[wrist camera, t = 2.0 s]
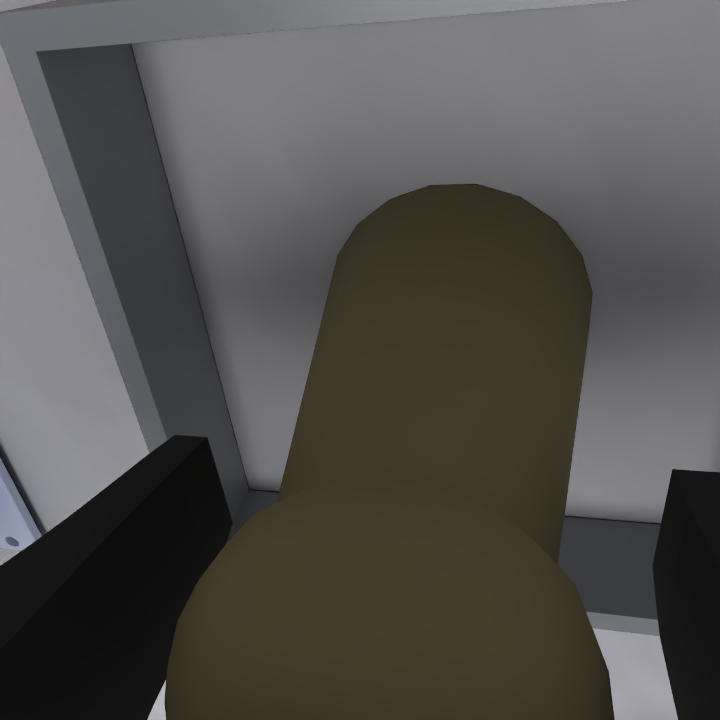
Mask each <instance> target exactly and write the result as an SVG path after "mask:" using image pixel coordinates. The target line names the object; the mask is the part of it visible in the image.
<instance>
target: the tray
mask: <svg viewBox="0 0 720 720" xmlns="http://www.w3.org/2000/svg"><path fill="white" fill-rule="evenodd" d="M622 1H634V0H56V1H51V2H46V3H41V4H37V5H32V6H27V7H22V8H18V9H13V10H8V11H3V12H0V42H1V45H2V47H3V50H4V53H5V56H6V58H7V61H8V64H9V67H10V69H11V72H12V75H13V78H14V80H15V83H16V86H17V89H18V92H19V94H20V97H21V100H22V103H23V105H24V108H25V111H26V114H27V116H28V119H29V122H30V125H31V127H32V130H33V133H34V136H35V138H36V141H37V144H38V147H39V149H40V152H41V155H42V158H43V160H44V163H45V166H46V169H47V171H48V174H49V177H50V180H51V182H52V185H53V188H54V191H55V193H56V196H57V199H58V202H59V204H60V207H61V210H62V213H63V215H64V218H65V221H66V224H67V226H68V229H69V232H70V235H71V237H72V240H73V243H74V246H75V248H76V251H77V254H78V257H79V260H80V262H81V265H82V268H83V271H84V273H85V276H86V279H87V282H88V284H89V287H90V290H91V293H92V295H93V298H94V301H95V304H96V306H97V309H98V312H99V315H100V317H101V320H102V323H103V326H104V328H105V331H106V334H107V337H108V339H109V342H110V345H111V348H112V350H113V353H114V356H115V359H116V361H117V364H118V367H119V370H120V372H121V375H122V378H123V381H124V383H125V386H126V389H127V392H128V394H129V397H130V400H131V403H132V405H133V408H134V411H135V414H136V416H137V419H138V422H139V425H140V428H141V430H142V433H143V436H144V439H145V441H146V444H147V447H148V450H149V452H150V453H151V452H152V451H154V450H155V449H156V448H157V447H159V446H160V445H161V444H163V443H164V442H166V441H167V440H168V439H170V438H171V437H173V436H174V435H184V436H199V437H208V440H209V444H210V447H211V450H212V454H213V457H214V461H215V464H216V467H217V471H218V474H219V477H220V481H221V484H222V488H223V491H224V494H225V498H226V501H227V504H228V508H229V511H230V515H231V518H232V521H233V524H232V527H231V530H230V533H229V537H228V540H227V543H228V542H229V541H230V540H231V539H232V537H233V536H234V535H235V534H236V533H237V532H238V531H239V530H240V528H241V527H242V526H243V525H244V524H245V523H246V522H247V521H248V519H249V518H250V517H252V516H254V515H255V514H257V513H259V512H261V511H263V510H265V509H267V508H269V507H271V506H272V505H274V504H276V503H277V500H278V496H279V493H277V492H265V491H253V490H249V489H248V485H247V481H246V477H245V474H244V470H243V466H242V462H241V459H240V455H239V451H238V447H237V444H236V440H235V436H234V432H233V429H232V425H231V421H230V417H229V413H228V410H227V406H226V402H225V398H224V395H223V391H222V387H221V383H220V380H219V376H218V372H217V368H216V365H215V361H214V357H213V353H212V350H211V346H210V342H209V338H208V335H207V331H206V327H205V323H204V319H203V316H202V312H201V308H200V304H199V301H198V297H197V293H196V289H195V286H194V282H193V278H192V274H191V271H190V267H189V263H188V259H187V256H186V252H185V248H184V244H183V240H182V237H181V233H180V229H179V225H178V222H177V218H176V214H175V210H174V207H173V203H172V199H171V195H170V192H169V188H168V184H167V180H166V177H165V173H164V169H163V165H162V161H161V158H160V154H159V150H158V146H157V143H156V139H155V135H154V131H153V128H152V124H151V120H150V116H149V113H148V109H147V105H146V101H145V98H144V94H143V90H142V86H141V83H140V79H139V75H138V71H137V67H136V64H135V60H134V56H133V52H132V49H131V45H130V43H141V42H153V41H164V40H176V39H188V38H200V37H211V36H223V35H235V34H247V33H258V32H270V31H282V30H294V29H305V28H317V27H329V26H341V25H352V24H364V23H376V22H387V21H399V20H411V19H423V18H434V17H446V16H458V15H470V14H481V13H493V12H505V11H517V10H528V9H540V8H552V7H564V6H575V5H587V4H599V3H611V2H622ZM660 526H661V525H657V524H645V523H633V522H622V521H610V520H598V519H586V518H574V517H564V523H563V530H562V538H561V545H560V553H559V561H558V566H559V567H560V568H561V569H562V570H563V572H564V573H565V574H566V575H567V576H568V577H569V578H570V579H571V580H572V581H573V582H574V583H575V584H576V587H577V590H578V592H579V595H580V597H581V600H582V603H583V605H584V608H585V610H586V613H587V616H588V618H589V621H590V623H591V626H592V628H596V629H605V630H613V631H621V632H630V633H638V634H646V635H655V636H660V634H659V626H658V617H657V608H656V598H655V588H654V577H653V567H652V564H653V560H654V555H655V550H656V545H657V541H658V536H659V531H660ZM227 543H226V544H227Z"/></svg>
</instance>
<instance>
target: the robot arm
mask: <svg viewBox="0 0 720 720" xmlns="http://www.w3.org/2000/svg"><path fill="white" fill-rule="evenodd" d="M232 524H233V521H232V518H231V515H230V511H229V508H228V504H227V501H226V498H225V494H224V491H223V488H222V484H221V481H220V477H219V474H218V471H217V467H216V464H215V461H214V457H213V454H212V450H211V447H210V444H209V440H208V437H199V436H184V435H174V436H173V437H171V438H170V439H168V440H167V441H166V442H164V443H163V444H161V445H160V446H159V447H157V448H156V449H155V450H154V451H152V452H151V453H150V454H148V455H147V456H146V457H145V458H143V459H142V460H141V461H139V462H138V463H137V464H136V465H134V466H133V467H132V468H131V469H129V470H128V471H127V472H125V473H124V474H123V475H122V476H120V477H119V478H118V479H117V480H115V481H114V482H113V483H112V484H110V485H109V486H108V487H106V488H105V489H104V490H103V491H101V492H100V493H99V494H97V495H96V496H95V497H94V498H92V499H91V500H90V501H88V502H87V503H86V504H85V505H83V506H82V507H81V508H79V509H78V510H77V511H76V512H74V513H73V514H72V515H70V516H69V517H68V518H66V519H65V520H64V521H62V522H61V523H60V524H58V525H57V526H55V527H54V528H53V529H51V530H50V531H49V532H47V533H46V534H44V535H43V536H41V534H40V532H39V530H38V528H37V526H36V524H35V522H34V520H33V519H32V517H31V515H30V513H29V511H28V509H27V507H26V505H25V503H24V501H23V500H22V498H21V496H20V494H19V492H18V490H17V488H16V486H15V484H14V483H13V481H12V479H11V477H10V475H9V473H8V471H7V469H6V467H5V466H4V464H3V462H2V460H1V458H0V548H3V549H11V550H20V551H21V552H19V553H18V554H17V555H15V556H14V557H12V558H11V559H10V560H8V561H7V562H5V563H4V564H2V565H1V566H0V720H147V719H148V716H149V714H150V712H151V710H152V707H153V705H154V703H155V701H156V699H157V697H158V695H159V692H160V690H161V688H162V686H163V684H164V682H165V680H166V676H167V667H168V662H169V658H170V653H171V648H172V644H173V639H174V634H175V630H176V625H177V621H178V619H179V617H180V615H181V613H182V611H183V609H184V607H185V605H186V603H187V602H188V600H189V598H190V596H191V594H192V592H193V590H194V588H195V586H196V584H197V582H198V580H199V579H200V578H201V576H202V575H203V574H204V572H205V571H206V570H207V568H208V567H209V566H210V564H211V563H212V562H213V560H214V559H215V558H216V557H217V555H218V554H219V553H220V551H221V550H222V549H223V547H224V546H225V545H226V543H227V540H228V537H229V533H230V530H231V527H232ZM652 567H653V577H654V588H655V598H656V608H657V617H658V626H659V634H660V639H661V644H662V648H663V653H664V658H665V662H666V667H667V671H668V676H669V680H670V685H671V690H672V694H673V698H674V703H675V707H676V712H677V716H678V720H720V473H719V472H704V471H690V470H675V469H672V474H671V479H670V484H669V488H668V493H667V498H666V503H665V507H664V512H663V517H662V522H661V526H660V531H659V536H658V541H657V545H656V550H655V555H654V560H653V564H652Z"/></svg>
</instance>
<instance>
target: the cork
mask: <svg viewBox="0 0 720 720" xmlns="http://www.w3.org/2000/svg"><path fill="white" fill-rule="evenodd" d="M592 294H593V293H592V289H591V286H590V282H589V279H588V275H587V272H586V268H585V264H584V261H583V257H582V255H581V254H580V252H579V251H578V249H577V248H576V247H575V245H574V244H573V243H572V241H571V240H570V239H569V237H568V236H567V235H566V233H565V232H564V231H563V229H562V228H561V227H560V225H559V224H558V222H556V221H555V220H554V219H552V218H551V217H549V216H548V215H546V214H545V213H543V212H542V211H540V210H539V209H537V208H536V207H534V206H533V205H531V204H530V203H528V202H527V201H525V200H524V199H522V198H521V197H519V196H515V195H512V194H508V193H505V192H501V191H498V190H494V189H491V188H487V187H484V186H480V185H477V184H465V185H430V186H427V187H424V188H421V189H419V190H416V191H413V192H410V193H407V194H404V195H401V196H398V197H395V198H393V199H390V200H388V201H387V202H386V203H384V204H383V205H382V206H381V207H379V208H378V209H377V210H375V211H374V212H373V213H372V214H370V215H369V216H368V217H366V218H365V219H364V220H362V221H361V222H360V223H359V224H357V226H356V228H355V229H354V231H353V232H352V234H351V235H350V237H349V239H348V240H347V242H346V243H345V245H344V246H343V248H342V250H341V251H340V253H339V254H338V256H337V260H336V264H335V268H334V272H333V276H332V280H331V284H330V288H329V293H328V297H327V301H326V305H325V309H324V313H323V317H322V321H321V325H320V329H319V333H318V337H317V341H316V345H315V349H314V354H313V358H312V362H311V366H310V370H309V374H308V378H307V382H306V386H305V390H304V394H303V398H302V402H301V406H300V410H299V414H298V419H297V423H296V427H295V431H294V435H293V439H292V443H291V447H290V451H289V455H288V459H287V463H286V467H285V471H284V475H283V480H282V484H281V488H280V492H279V496H278V500H277V503H276V504H274V505H272V506H271V507H269V508H267V509H265V510H263V511H261V512H259V513H257V514H255V515H254V516H252V517H250V518H249V519H248V521H247V522H246V523H245V524H244V525H243V526H242V527H241V528H240V530H239V531H238V532H237V533H236V534H235V535H234V536H233V537H232V539H231V540H230V541H229V542H228V543H227V544H226V545H225V546H224V547H223V549H222V550H221V551H220V553H219V554H218V555H217V557H216V558H215V559H214V560H213V562H212V563H211V564H210V566H209V567H208V568H207V570H206V571H205V572H204V574H203V575H202V576H201V578H200V579H199V580H198V582H197V584H196V586H195V588H194V590H193V592H192V594H191V596H190V598H189V600H188V602H187V603H186V605H185V607H184V609H183V611H182V613H181V615H180V617H179V619H178V621H177V625H176V630H175V634H174V639H173V644H172V648H171V653H170V658H169V662H168V667H167V676H166V691H165V711H166V720H614V712H613V704H612V695H611V686H610V678H609V671H608V669H607V666H606V663H605V661H604V658H603V655H602V653H601V650H600V647H599V645H598V642H597V639H596V637H595V634H594V631H593V629H592V626H591V623H590V621H589V618H588V616H587V613H586V610H585V608H584V605H583V603H582V600H581V597H580V595H579V592H578V590H577V587H576V584H575V583H574V582H573V581H572V580H571V579H570V578H569V577H568V576H567V575H566V574H565V573H564V572H563V570H562V569H561V568H560V567H559V566H558V561H559V553H560V545H561V538H562V530H563V523H564V515H565V507H566V500H567V492H568V484H569V477H570V469H571V462H572V454H573V446H574V439H575V431H576V423H577V416H578V408H579V401H580V393H581V385H582V378H583V370H584V362H585V355H586V347H587V339H588V332H589V323H590V313H591V303H592Z"/></svg>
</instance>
